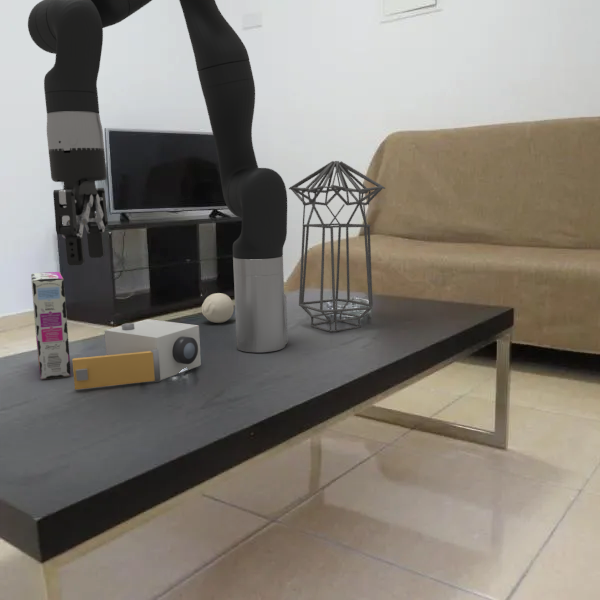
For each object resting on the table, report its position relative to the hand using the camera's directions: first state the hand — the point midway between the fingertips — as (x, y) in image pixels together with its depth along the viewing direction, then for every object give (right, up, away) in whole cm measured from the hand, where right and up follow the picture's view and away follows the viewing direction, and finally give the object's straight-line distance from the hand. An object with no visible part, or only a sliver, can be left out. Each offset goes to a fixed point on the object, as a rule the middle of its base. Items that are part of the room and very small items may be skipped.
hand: (87, 260), depth 95 cm
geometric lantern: (+39, -11, +45) cm, 61 cm away
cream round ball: (+13, -11, +51) cm, 54 cm away
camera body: (+6, -17, +16) cm, 24 cm away
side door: (+3, -19, +6) cm, 20 cm away
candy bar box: (-11, -18, +16) cm, 26 cm away
